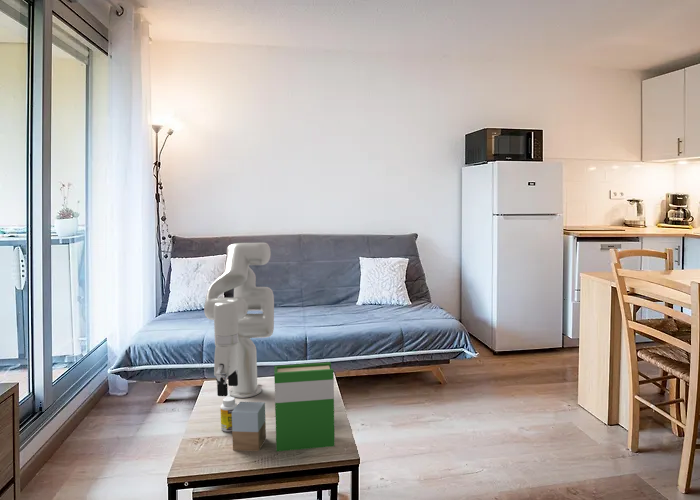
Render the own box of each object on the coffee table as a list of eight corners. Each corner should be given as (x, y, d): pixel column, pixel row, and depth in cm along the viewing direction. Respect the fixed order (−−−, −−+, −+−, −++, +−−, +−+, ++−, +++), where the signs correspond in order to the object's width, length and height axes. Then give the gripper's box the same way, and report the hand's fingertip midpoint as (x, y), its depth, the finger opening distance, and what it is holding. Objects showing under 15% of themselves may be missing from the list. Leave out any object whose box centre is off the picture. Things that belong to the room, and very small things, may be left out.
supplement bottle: (227, 434, 157) (226, 403, 156) (217, 429, 161) (216, 399, 160) (241, 428, 161) (240, 398, 161) (231, 423, 165) (230, 394, 164)
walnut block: (241, 438, 155) (240, 419, 154) (265, 438, 154) (265, 420, 153) (232, 450, 147) (232, 431, 146) (258, 451, 146) (258, 432, 145)
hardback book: (331, 435, 156) (330, 362, 154) (334, 446, 148) (333, 369, 146) (276, 440, 153) (274, 365, 151) (276, 451, 145) (274, 373, 144)
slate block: (240, 419, 154) (240, 401, 154) (265, 420, 153) (264, 402, 153) (232, 431, 146) (231, 412, 146) (258, 432, 145) (257, 412, 145)
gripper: (224, 333, 167) (226, 381, 168) (204, 345, 150) (206, 399, 151) (246, 333, 167) (247, 382, 168) (228, 346, 150) (229, 400, 150)
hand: (228, 390), depth 159 cm, fingers open, 9 cm apart
